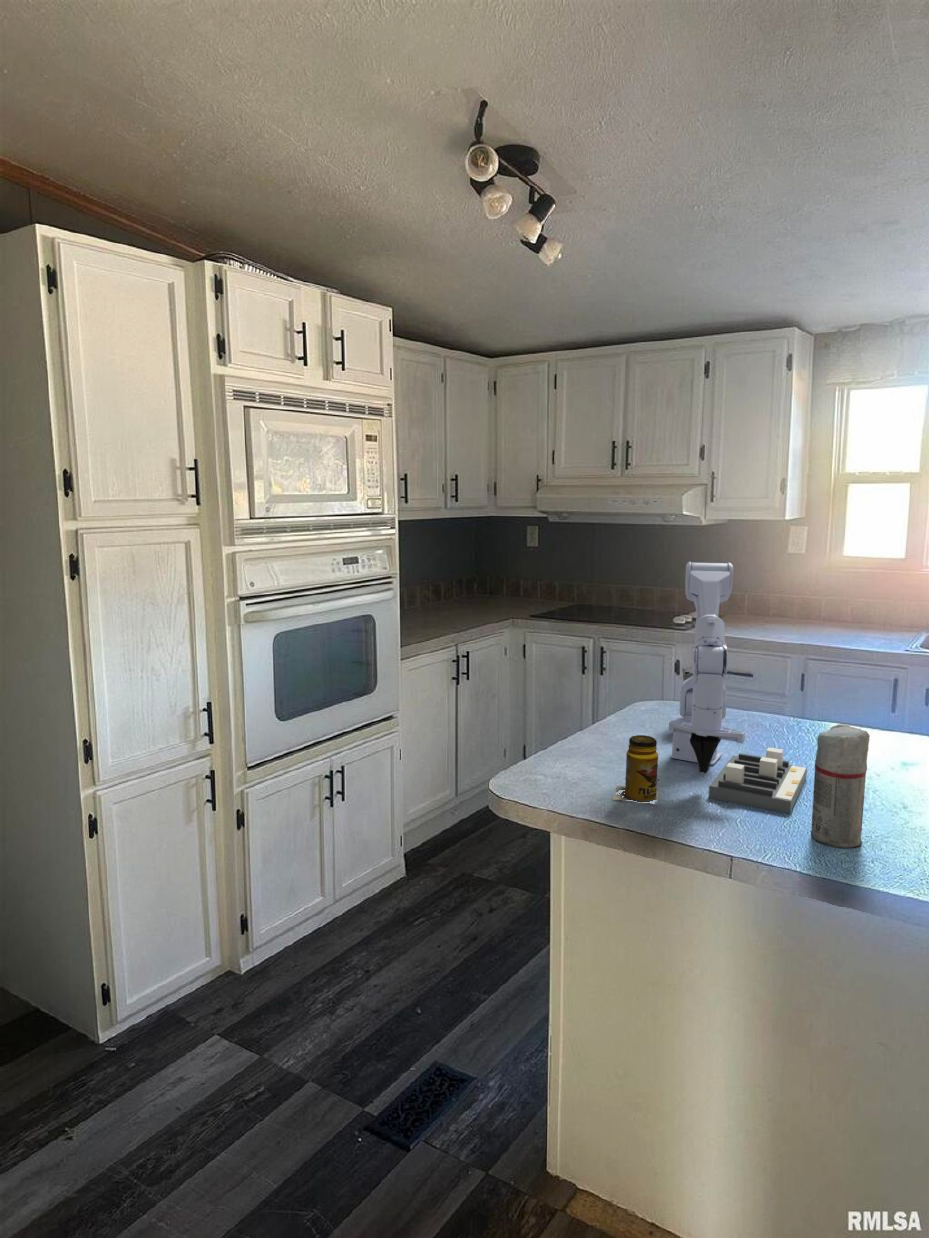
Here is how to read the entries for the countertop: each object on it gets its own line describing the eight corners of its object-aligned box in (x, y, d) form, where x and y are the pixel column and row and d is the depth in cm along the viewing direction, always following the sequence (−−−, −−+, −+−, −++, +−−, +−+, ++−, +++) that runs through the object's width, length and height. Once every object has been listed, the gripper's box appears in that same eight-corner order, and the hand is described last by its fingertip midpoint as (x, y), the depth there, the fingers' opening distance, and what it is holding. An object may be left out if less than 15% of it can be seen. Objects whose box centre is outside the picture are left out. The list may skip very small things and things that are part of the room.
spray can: (859, 854, 130) (869, 738, 127) (806, 842, 134) (814, 730, 131) (864, 835, 137) (874, 725, 134) (813, 825, 141) (822, 718, 138)
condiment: (656, 805, 150) (659, 745, 148) (612, 800, 153) (614, 741, 151) (659, 791, 157) (661, 734, 155) (616, 787, 159) (618, 730, 157)
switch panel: (708, 797, 154) (709, 781, 153) (732, 765, 172) (733, 750, 171) (790, 813, 146) (791, 796, 146) (806, 778, 164) (807, 763, 164)
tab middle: (758, 777, 158) (759, 760, 157) (761, 773, 160) (762, 756, 159) (774, 780, 156) (775, 762, 155) (776, 776, 158) (777, 759, 157)
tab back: (765, 766, 163) (766, 750, 163) (767, 763, 165) (768, 747, 165) (780, 769, 162) (781, 752, 161) (782, 766, 164) (783, 749, 163)
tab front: (725, 783, 154) (726, 766, 154) (727, 779, 156) (728, 762, 156) (740, 786, 153) (742, 768, 152) (743, 782, 155) (744, 765, 154)
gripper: (665, 705, 155) (662, 770, 157) (741, 716, 148) (736, 784, 150) (675, 697, 161) (672, 760, 163) (748, 707, 154) (744, 773, 156)
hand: (703, 771), depth 157 cm, fingers closed
